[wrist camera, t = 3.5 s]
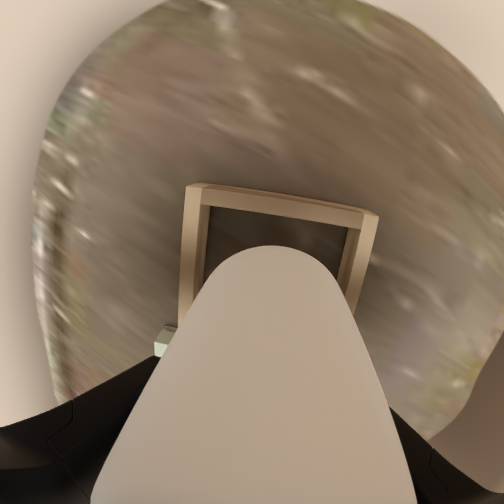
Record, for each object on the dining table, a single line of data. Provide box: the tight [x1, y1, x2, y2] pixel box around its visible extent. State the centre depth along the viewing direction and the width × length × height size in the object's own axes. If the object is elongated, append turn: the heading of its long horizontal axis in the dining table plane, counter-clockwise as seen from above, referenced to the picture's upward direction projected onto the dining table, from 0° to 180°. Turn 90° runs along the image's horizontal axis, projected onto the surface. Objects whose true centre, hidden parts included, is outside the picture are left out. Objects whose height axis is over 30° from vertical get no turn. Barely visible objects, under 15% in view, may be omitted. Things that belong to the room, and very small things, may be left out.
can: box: [90, 246, 417, 504], centre depth 8 cm, size 6×6×12 cm
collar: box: [178, 182, 379, 327], centre depth 17 cm, size 10×10×2 cm
